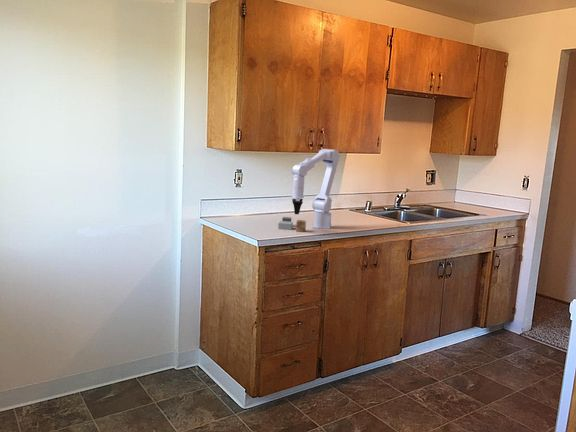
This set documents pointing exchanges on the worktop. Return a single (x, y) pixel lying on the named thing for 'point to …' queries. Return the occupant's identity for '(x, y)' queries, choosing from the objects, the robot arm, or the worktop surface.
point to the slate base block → (285, 225)
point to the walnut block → (300, 226)
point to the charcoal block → (286, 219)
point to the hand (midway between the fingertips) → (296, 213)
